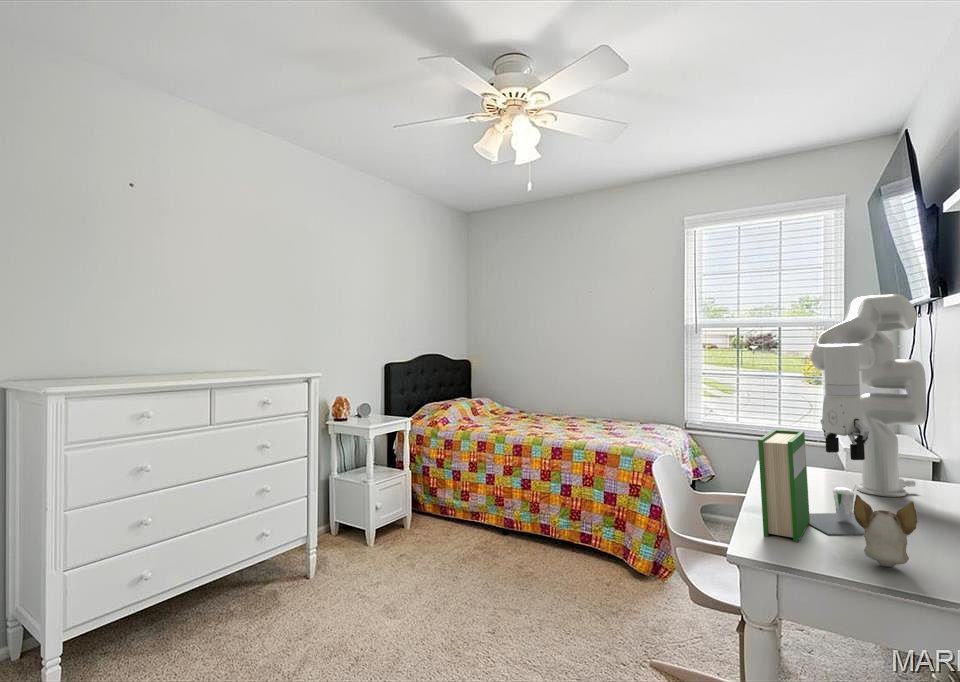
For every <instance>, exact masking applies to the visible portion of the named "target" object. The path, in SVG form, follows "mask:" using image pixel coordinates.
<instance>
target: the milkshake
mask: <svg viewBox="0 0 960 682" xmlns="http://www.w3.org/2000/svg"><path fill="white" fill-rule="evenodd" d="M856 488H857V484H854V488H853V490H852V489H851V488H848V487H843V486H838V487H837V486H836V487H834V488H833V490H832V493H833V500H834V507H835V513H836V515H837V521H838V522H839V523H843V524H852V513H853V512H854V497H855V496H854V495H855V490H856Z"/></svg>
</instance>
